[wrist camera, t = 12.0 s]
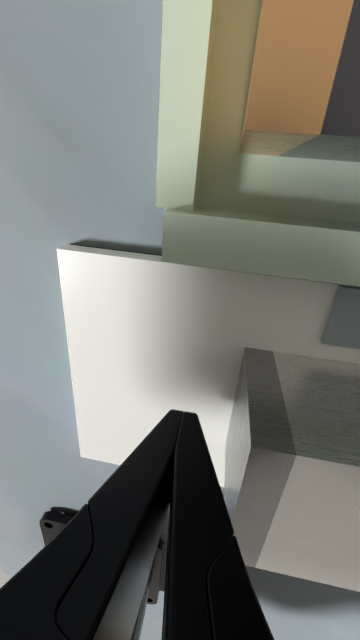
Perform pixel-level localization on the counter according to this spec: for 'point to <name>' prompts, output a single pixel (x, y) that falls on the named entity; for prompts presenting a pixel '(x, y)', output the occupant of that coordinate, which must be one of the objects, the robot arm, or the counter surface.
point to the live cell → (305, 81)
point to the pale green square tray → (241, 162)
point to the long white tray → (182, 340)
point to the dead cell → (296, 466)
